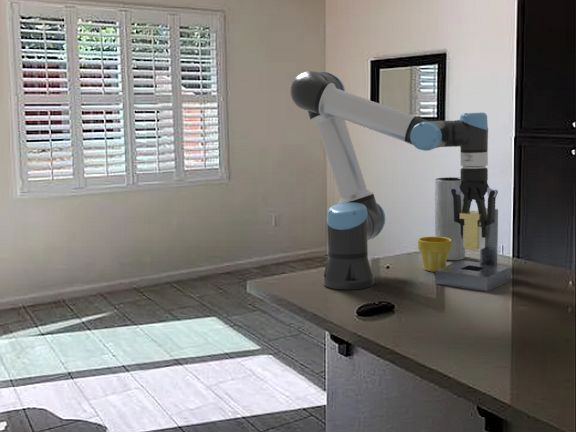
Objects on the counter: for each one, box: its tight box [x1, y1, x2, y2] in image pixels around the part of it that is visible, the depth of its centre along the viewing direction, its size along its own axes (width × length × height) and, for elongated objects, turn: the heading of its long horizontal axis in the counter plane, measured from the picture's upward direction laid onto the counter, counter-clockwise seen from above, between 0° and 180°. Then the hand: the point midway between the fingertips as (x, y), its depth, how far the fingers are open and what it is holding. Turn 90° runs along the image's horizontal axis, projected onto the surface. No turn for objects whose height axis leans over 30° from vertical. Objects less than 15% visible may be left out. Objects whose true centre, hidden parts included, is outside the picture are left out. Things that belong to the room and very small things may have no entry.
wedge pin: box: [460, 210, 487, 251], centre depth 195 cm, size 6×6×11 cm
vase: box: [434, 176, 466, 261], centre depth 228 cm, size 10×10×27 cm
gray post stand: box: [434, 207, 512, 292], centre depth 198 cm, size 16×21×20 cm
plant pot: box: [417, 236, 451, 272], centre depth 214 cm, size 10×10×10 cm
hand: (474, 247), depth 196 cm, fingers closed on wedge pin, 4 cm apart
